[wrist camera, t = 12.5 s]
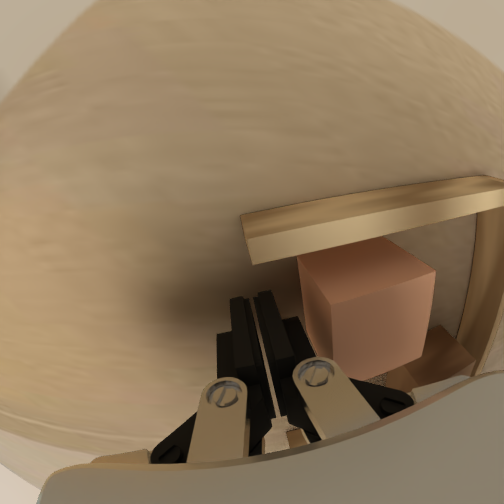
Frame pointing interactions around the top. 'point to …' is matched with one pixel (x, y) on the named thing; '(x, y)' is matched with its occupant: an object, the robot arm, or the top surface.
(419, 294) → the terracotta block
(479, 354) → the tan u-shaped piece
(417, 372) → the walnut block
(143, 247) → the top surface
